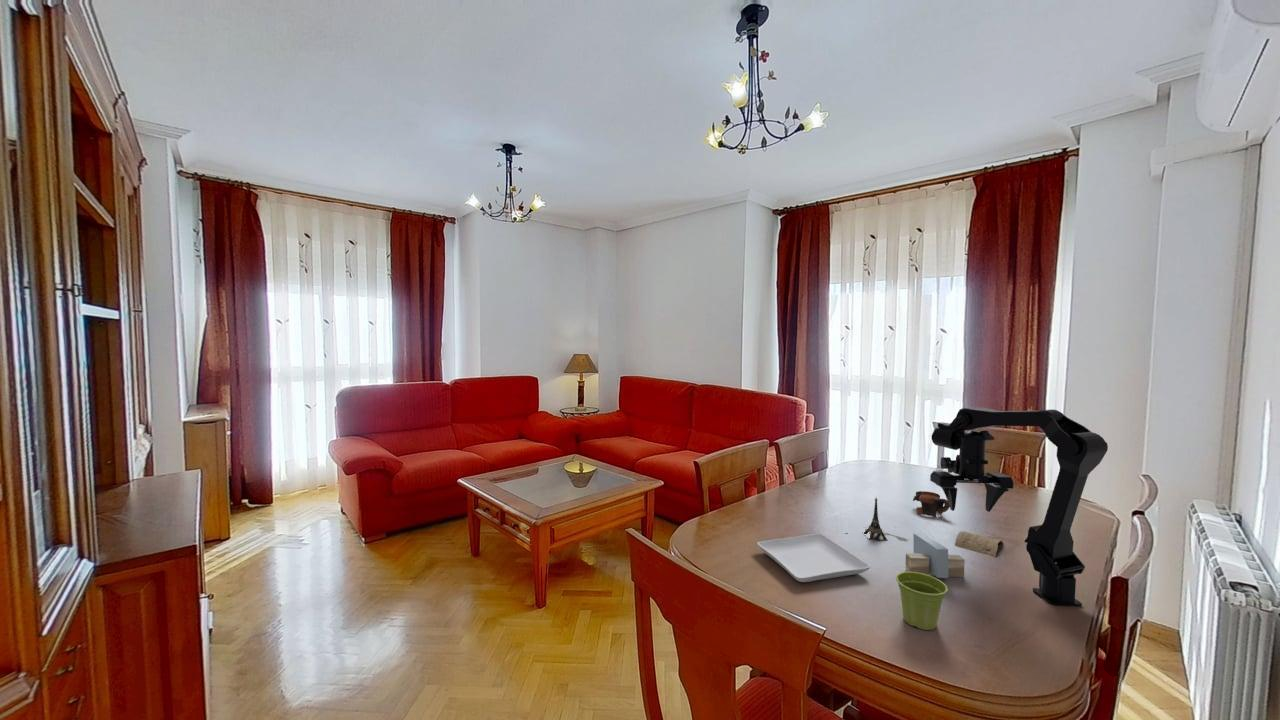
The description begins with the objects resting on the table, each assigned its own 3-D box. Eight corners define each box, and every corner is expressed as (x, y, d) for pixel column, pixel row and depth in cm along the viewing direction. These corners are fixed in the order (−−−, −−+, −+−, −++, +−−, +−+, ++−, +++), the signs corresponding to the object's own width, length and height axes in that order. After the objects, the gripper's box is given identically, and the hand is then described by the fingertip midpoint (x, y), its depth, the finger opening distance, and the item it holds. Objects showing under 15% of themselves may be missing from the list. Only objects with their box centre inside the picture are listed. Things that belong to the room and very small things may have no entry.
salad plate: (798, 591, 116) (798, 577, 116) (754, 552, 137) (755, 540, 136) (872, 579, 122) (873, 566, 121) (820, 544, 142) (820, 532, 142)
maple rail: (964, 577, 122) (964, 559, 122) (910, 575, 123) (910, 557, 123) (958, 572, 125) (958, 554, 124) (905, 570, 126) (905, 553, 125)
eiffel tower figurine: (909, 541, 144) (911, 497, 144) (895, 551, 138) (897, 505, 137) (859, 526, 156) (860, 485, 155) (844, 535, 149) (845, 492, 148)
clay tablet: (995, 560, 133) (996, 550, 132) (952, 548, 140) (952, 539, 139) (1004, 543, 143) (1004, 534, 143) (963, 533, 150) (963, 525, 150)
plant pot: (927, 609, 108) (928, 571, 107) (956, 635, 98) (958, 593, 98) (886, 610, 108) (887, 571, 107) (911, 636, 98) (912, 594, 98)
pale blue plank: (948, 578, 120) (948, 549, 120) (937, 577, 120) (937, 549, 120) (923, 559, 132) (923, 533, 132) (913, 558, 132) (913, 532, 132)
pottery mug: (906, 513, 167) (907, 489, 170) (921, 521, 171) (922, 497, 174) (943, 514, 157) (943, 489, 161) (958, 522, 161) (958, 498, 165)
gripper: (989, 447, 139) (987, 501, 139) (921, 446, 140) (919, 499, 141) (1016, 457, 127) (1014, 516, 128) (942, 456, 129) (940, 514, 130)
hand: (970, 510), depth 132 cm, fingers open, 9 cm apart
